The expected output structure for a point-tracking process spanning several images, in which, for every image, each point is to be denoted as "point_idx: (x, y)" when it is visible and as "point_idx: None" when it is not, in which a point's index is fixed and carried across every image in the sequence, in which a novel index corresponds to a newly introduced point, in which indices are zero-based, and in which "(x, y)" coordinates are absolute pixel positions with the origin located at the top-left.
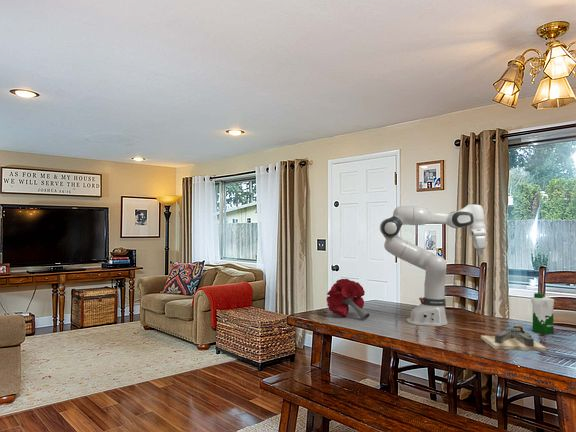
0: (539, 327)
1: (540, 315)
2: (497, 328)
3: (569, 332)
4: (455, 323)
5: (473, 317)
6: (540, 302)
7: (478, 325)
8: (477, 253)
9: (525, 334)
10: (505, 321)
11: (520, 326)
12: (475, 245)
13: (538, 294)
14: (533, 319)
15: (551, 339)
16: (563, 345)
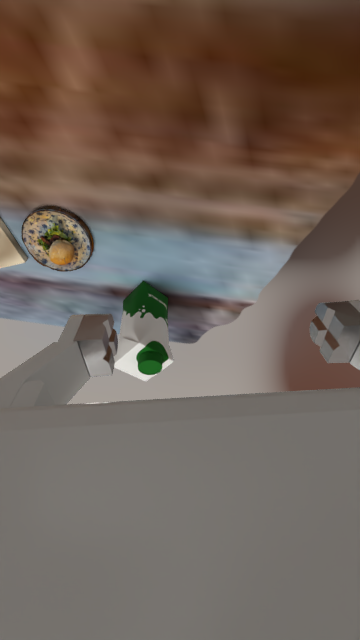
0: (127, 300)
1: (121, 323)
2: (143, 198)
3: (172, 339)
4: (167, 2)
5: (321, 126)
6: (119, 350)
7: (165, 131)
8: (338, 322)
9: (79, 261)
10: (261, 235)
11: (51, 260)
12: (292, 462)
13: (138, 366)
14: (136, 302)
15: (78, 303)
16: (33, 312)
